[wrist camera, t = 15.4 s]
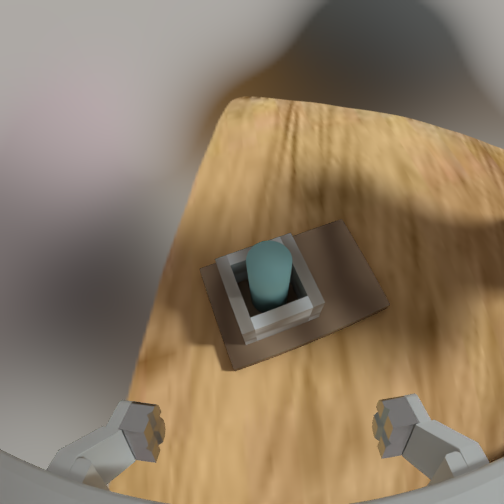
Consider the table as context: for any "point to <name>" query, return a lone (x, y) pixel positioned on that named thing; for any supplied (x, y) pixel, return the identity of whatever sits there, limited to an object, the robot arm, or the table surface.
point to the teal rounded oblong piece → (269, 274)
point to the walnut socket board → (294, 295)
